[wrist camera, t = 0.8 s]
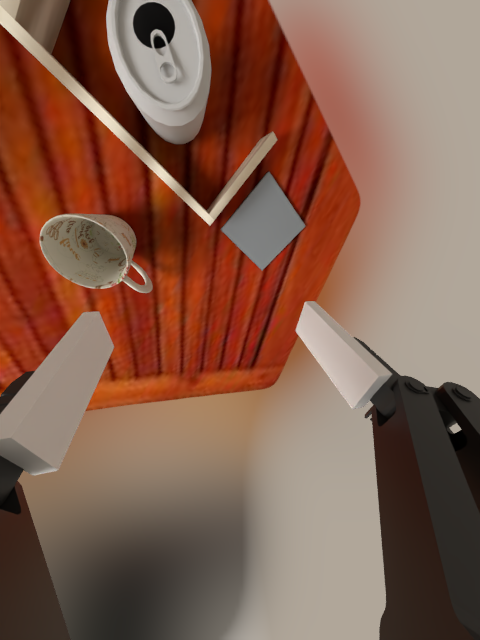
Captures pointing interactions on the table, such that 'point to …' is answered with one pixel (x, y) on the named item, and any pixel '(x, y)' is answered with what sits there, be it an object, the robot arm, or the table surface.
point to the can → (162, 63)
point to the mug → (92, 250)
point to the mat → (263, 223)
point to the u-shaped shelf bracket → (39, 39)
